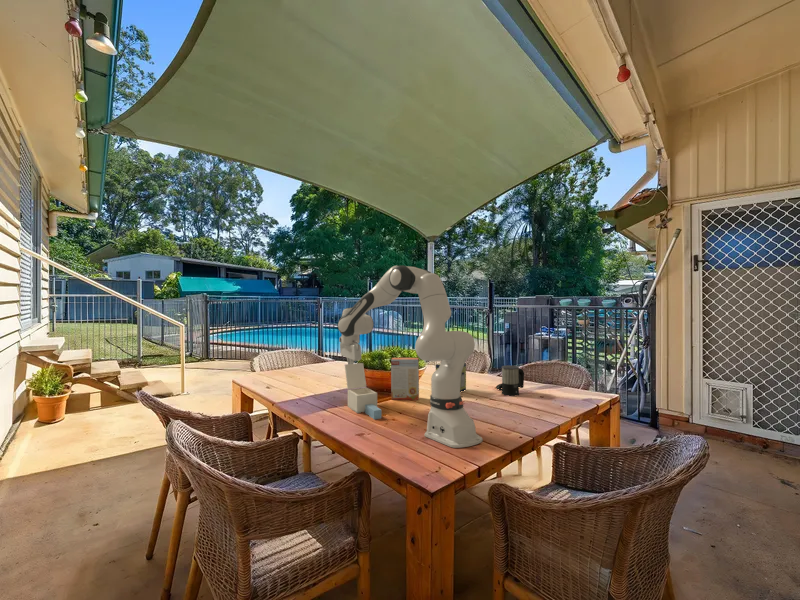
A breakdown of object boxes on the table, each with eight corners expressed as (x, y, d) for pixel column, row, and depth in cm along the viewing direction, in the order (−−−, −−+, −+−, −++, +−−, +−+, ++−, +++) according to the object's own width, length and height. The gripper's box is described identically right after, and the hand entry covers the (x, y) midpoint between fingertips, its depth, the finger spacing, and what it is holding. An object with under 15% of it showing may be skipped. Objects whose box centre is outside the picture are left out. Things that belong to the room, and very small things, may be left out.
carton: (377, 410, 175) (377, 392, 175) (357, 413, 170) (357, 395, 170) (366, 403, 186) (366, 387, 185) (347, 406, 181) (347, 389, 181)
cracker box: (419, 397, 197) (419, 357, 197) (418, 400, 191) (418, 359, 191) (392, 396, 198) (392, 357, 198) (391, 399, 192) (390, 358, 192)
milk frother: (514, 397, 196) (514, 369, 196) (487, 392, 207) (487, 365, 207) (526, 392, 207) (526, 365, 206) (500, 387, 218) (500, 362, 217)
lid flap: (363, 362, 189) (362, 363, 189) (344, 364, 184) (344, 364, 185) (366, 386, 185) (366, 386, 186) (347, 389, 181) (347, 389, 181)
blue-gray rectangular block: (381, 418, 163) (381, 409, 163) (373, 420, 162) (373, 410, 162) (372, 412, 172) (372, 403, 172) (365, 413, 171) (365, 404, 171)
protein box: (435, 393, 206) (435, 364, 206) (450, 387, 218) (450, 360, 218) (451, 396, 199) (451, 366, 199) (466, 390, 211) (466, 362, 211)
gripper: (364, 341, 183) (364, 369, 183) (349, 337, 201) (349, 363, 201) (352, 342, 180) (352, 371, 180) (338, 338, 198) (338, 364, 198)
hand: (350, 366), depth 191 cm, fingers closed
